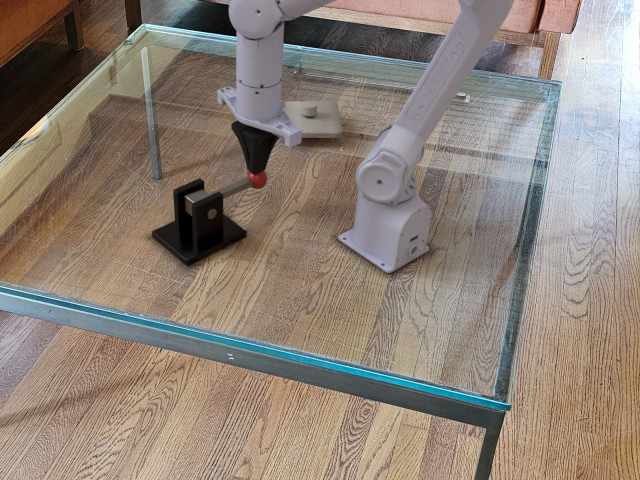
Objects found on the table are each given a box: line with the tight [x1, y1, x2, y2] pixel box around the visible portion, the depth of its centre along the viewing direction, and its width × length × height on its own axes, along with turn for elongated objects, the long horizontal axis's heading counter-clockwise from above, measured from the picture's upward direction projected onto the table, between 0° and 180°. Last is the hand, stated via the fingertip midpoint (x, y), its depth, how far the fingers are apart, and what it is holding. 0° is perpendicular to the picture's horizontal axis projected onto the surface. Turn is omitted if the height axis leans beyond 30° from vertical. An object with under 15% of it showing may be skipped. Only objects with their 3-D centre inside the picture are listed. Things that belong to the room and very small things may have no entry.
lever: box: [185, 170, 268, 216], centre depth 112 cm, size 13×3×3 cm, turn 129°
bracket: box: [151, 177, 248, 267], centre depth 110 cm, size 10×8×7 cm
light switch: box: [283, 100, 344, 139], centre depth 132 cm, size 10×10×5 cm
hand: (256, 170), depth 113 cm, fingers closed, pressing on lever
